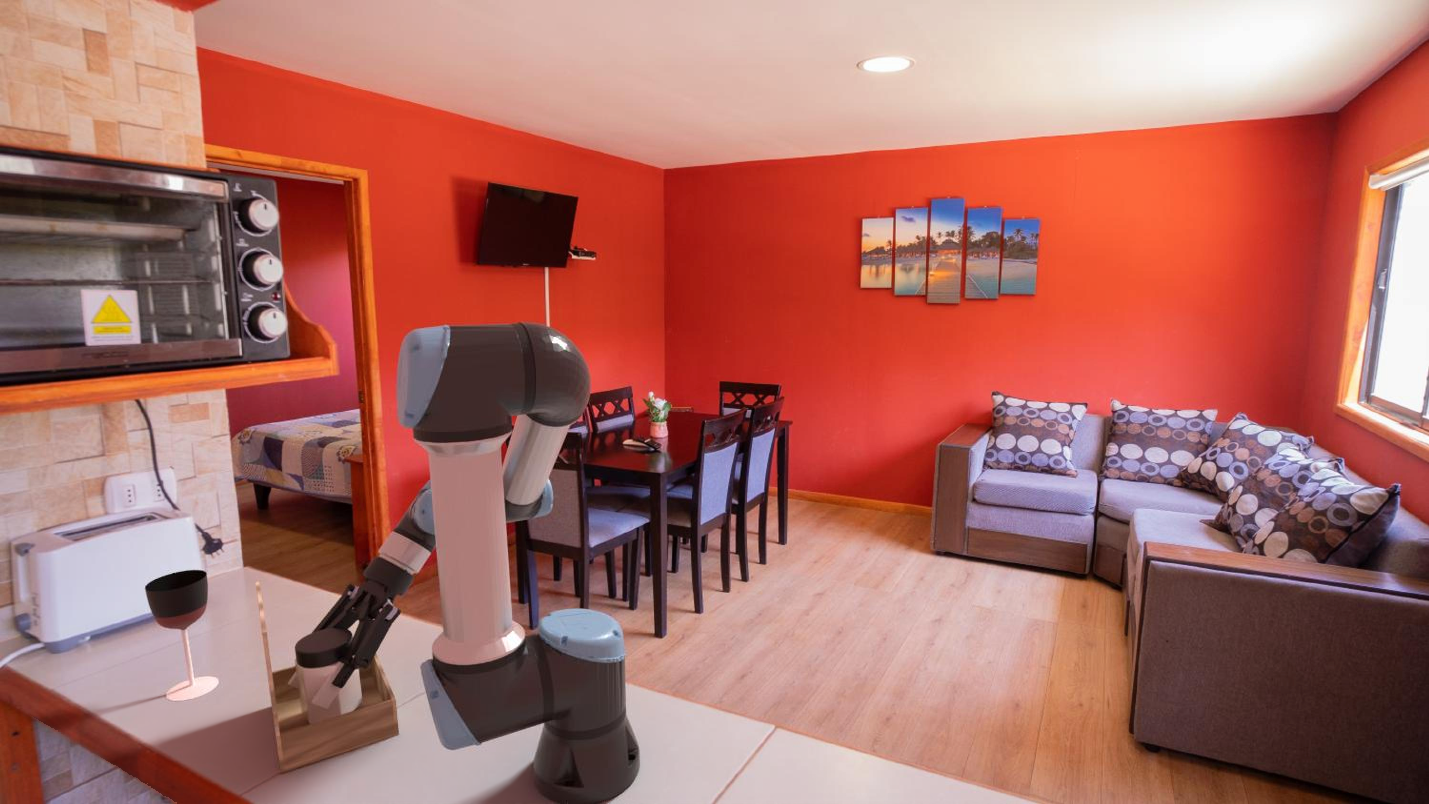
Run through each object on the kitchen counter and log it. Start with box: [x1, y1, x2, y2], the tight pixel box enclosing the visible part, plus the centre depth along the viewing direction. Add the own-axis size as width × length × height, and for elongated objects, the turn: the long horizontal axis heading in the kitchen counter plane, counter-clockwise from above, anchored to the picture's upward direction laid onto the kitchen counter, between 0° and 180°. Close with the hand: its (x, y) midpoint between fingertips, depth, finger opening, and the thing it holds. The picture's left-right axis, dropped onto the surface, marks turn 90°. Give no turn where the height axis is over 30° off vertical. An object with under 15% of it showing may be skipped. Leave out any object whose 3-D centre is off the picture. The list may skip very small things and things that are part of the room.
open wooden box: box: [255, 581, 400, 775], centre depth 116 cm, size 20×16×22 cm
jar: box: [294, 628, 363, 724], centre depth 117 cm, size 9×8×12 cm
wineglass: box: [144, 569, 220, 702], centre depth 126 cm, size 8×9×20 cm
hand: (307, 695), depth 115 cm, fingers closed on jar, 7 cm apart
